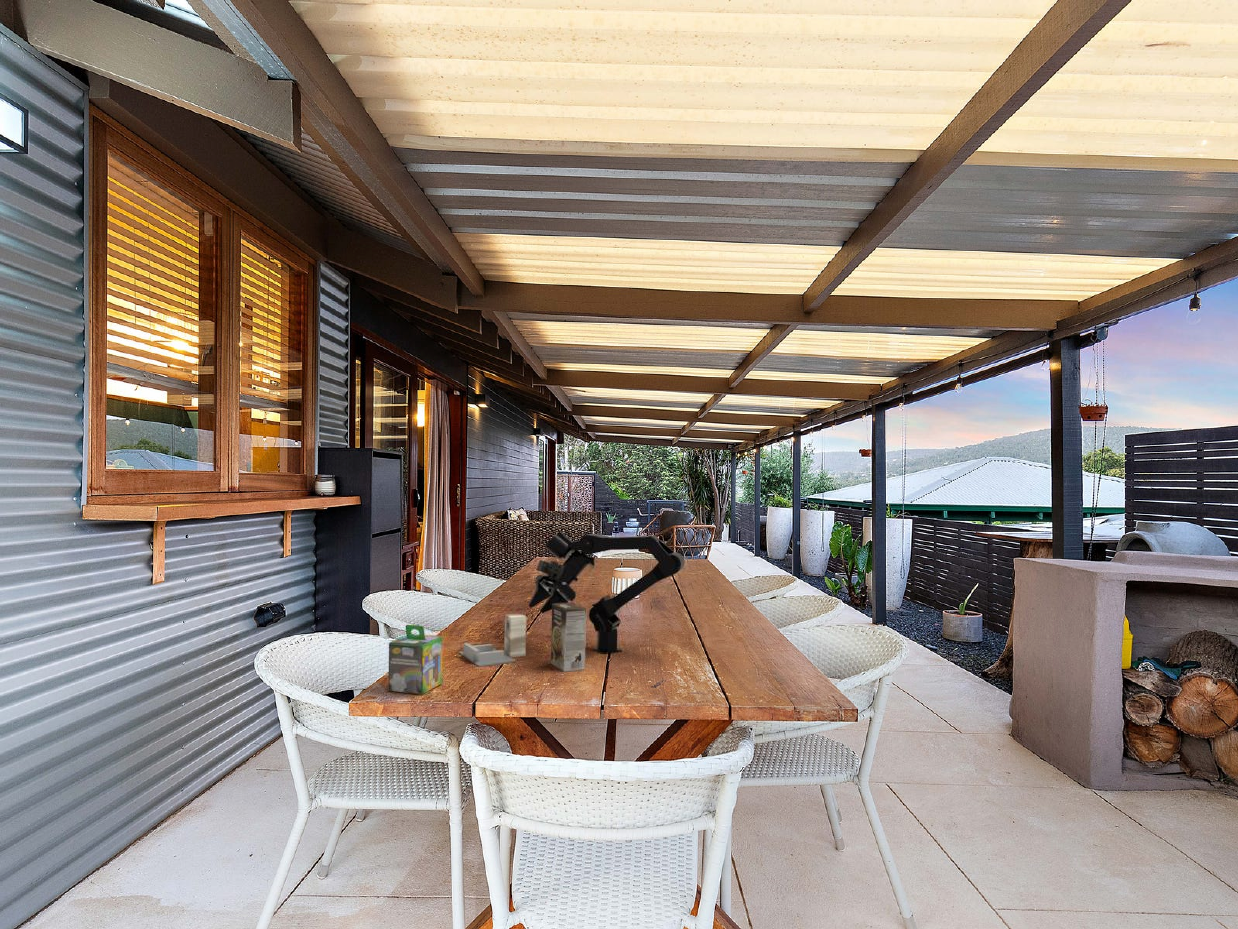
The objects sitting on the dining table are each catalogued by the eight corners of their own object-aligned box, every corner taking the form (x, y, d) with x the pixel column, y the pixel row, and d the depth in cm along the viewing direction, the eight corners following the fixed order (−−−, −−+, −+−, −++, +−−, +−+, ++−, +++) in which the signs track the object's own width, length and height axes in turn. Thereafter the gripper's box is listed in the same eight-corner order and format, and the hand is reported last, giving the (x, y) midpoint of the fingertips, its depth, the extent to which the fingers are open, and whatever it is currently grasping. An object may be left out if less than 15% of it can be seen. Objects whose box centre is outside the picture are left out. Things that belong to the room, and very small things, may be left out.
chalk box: (443, 684, 161) (444, 622, 162) (421, 696, 152) (423, 629, 153) (409, 680, 164) (410, 619, 164) (386, 691, 155) (388, 626, 155)
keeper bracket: (515, 662, 182) (515, 649, 183) (479, 667, 177) (479, 653, 177) (493, 649, 196) (494, 637, 196) (459, 653, 191) (459, 641, 191)
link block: (525, 655, 190) (526, 616, 190) (509, 657, 187) (510, 617, 188) (518, 652, 194) (519, 613, 194) (503, 654, 191) (504, 614, 191)
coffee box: (549, 663, 182) (551, 603, 182) (571, 661, 185) (572, 601, 185) (563, 672, 174) (564, 609, 174) (586, 669, 177) (587, 607, 177)
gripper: (541, 547, 205) (506, 586, 200) (566, 553, 189) (528, 595, 183) (565, 572, 209) (530, 611, 203) (591, 580, 192) (554, 622, 187)
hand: (535, 609), depth 194 cm, fingers open, 9 cm apart
